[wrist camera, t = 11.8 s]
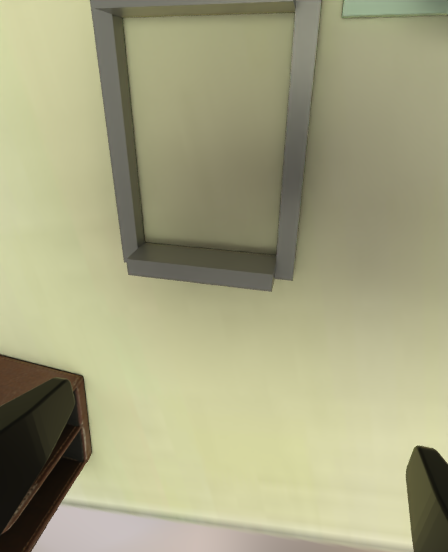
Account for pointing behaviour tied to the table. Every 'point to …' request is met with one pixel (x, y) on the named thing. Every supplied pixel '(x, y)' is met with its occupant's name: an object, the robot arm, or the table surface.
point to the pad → (393, 8)
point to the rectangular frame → (116, 98)
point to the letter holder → (61, 463)
